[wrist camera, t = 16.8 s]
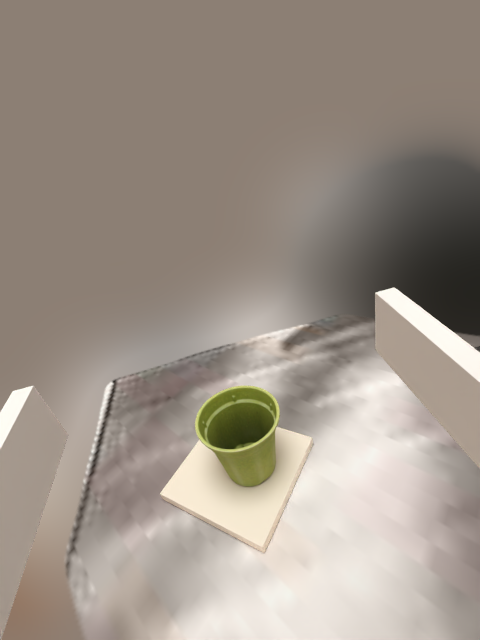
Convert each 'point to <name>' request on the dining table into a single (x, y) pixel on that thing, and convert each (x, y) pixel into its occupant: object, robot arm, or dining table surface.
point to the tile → (239, 490)
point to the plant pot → (241, 432)
